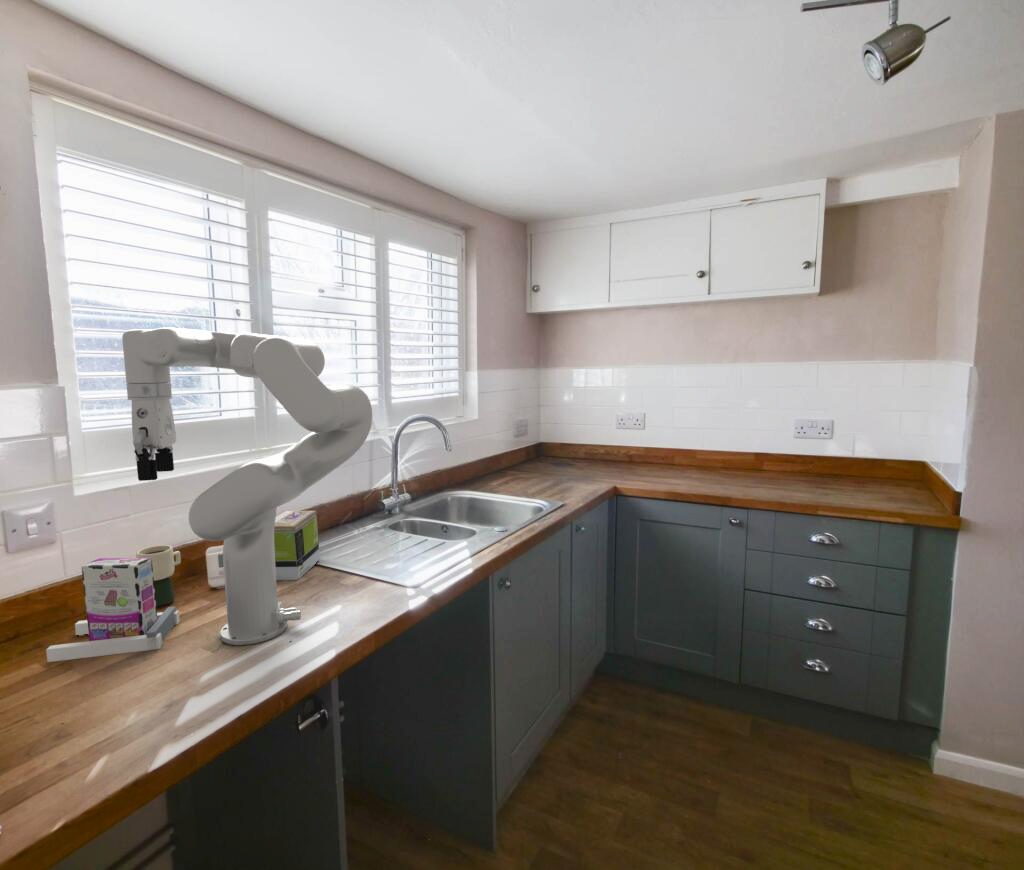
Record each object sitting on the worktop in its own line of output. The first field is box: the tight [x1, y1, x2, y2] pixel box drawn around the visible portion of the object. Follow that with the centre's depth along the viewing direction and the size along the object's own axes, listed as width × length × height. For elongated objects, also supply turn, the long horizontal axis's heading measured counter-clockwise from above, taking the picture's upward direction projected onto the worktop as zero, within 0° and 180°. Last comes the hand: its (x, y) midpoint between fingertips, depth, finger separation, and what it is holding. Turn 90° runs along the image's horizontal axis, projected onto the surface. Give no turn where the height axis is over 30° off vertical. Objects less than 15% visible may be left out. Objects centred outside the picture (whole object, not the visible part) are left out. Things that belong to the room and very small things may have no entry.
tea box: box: [274, 510, 321, 581], centre depth 148 cm, size 15×10×15 cm, turn 178°
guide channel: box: [45, 605, 180, 663], centre depth 111 cm, size 18×12×4 cm, turn 105°
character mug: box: [135, 544, 182, 607], centre depth 127 cm, size 11×7×13 cm, turn 148°
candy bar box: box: [81, 557, 158, 641], centre depth 110 cm, size 11×5×16 cm, turn 89°
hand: (157, 475), depth 114 cm, fingers open, 9 cm apart
